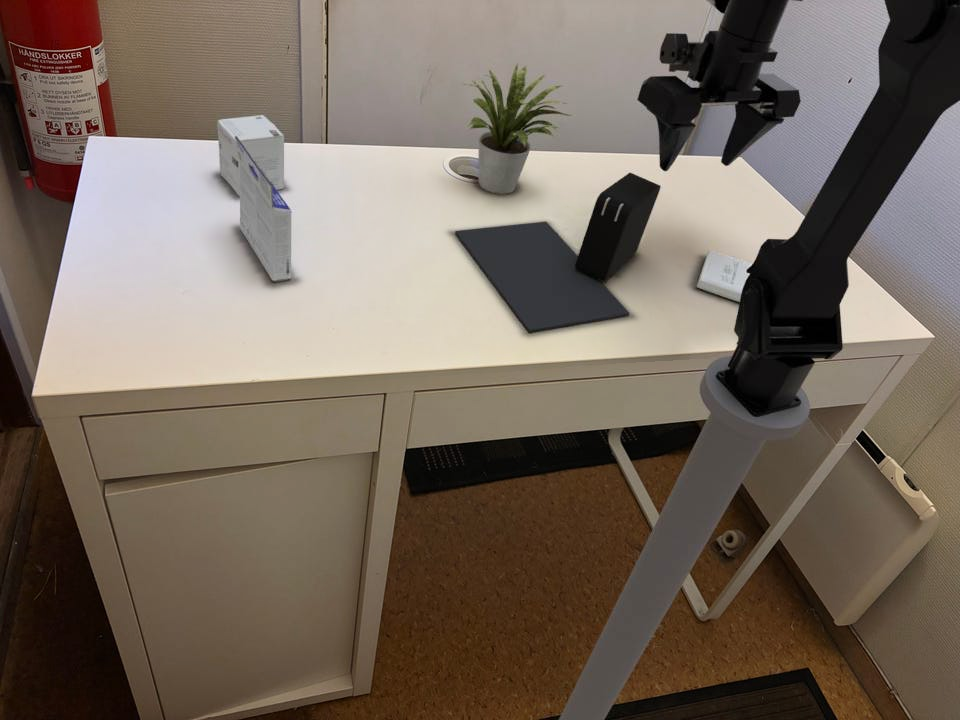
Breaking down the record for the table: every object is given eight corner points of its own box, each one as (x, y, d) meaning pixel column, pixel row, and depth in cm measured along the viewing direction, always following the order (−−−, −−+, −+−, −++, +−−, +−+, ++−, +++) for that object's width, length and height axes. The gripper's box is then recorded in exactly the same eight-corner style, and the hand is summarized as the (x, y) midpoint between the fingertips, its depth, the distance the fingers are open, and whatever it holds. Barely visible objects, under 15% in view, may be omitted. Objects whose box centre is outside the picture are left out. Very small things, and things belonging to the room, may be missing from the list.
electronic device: (635, 255, 96) (663, 183, 90) (603, 284, 88) (630, 209, 82) (606, 241, 97) (631, 170, 91) (572, 269, 90) (597, 194, 84)
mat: (628, 315, 85) (629, 313, 85) (528, 333, 80) (529, 330, 80) (545, 224, 98) (546, 221, 98) (454, 233, 93) (455, 230, 93)
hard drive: (797, 324, 89) (695, 288, 92) (800, 290, 95) (705, 258, 98) (802, 313, 88) (700, 277, 91) (806, 279, 94) (709, 247, 97)
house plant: (483, 223, 96) (506, 98, 85) (421, 174, 103) (435, 53, 93) (563, 201, 104) (593, 84, 93) (500, 157, 111) (521, 44, 101)
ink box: (294, 280, 80) (294, 182, 73) (272, 284, 79) (270, 185, 72) (259, 225, 87) (255, 131, 80) (239, 228, 86) (233, 133, 79)
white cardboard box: (219, 175, 95) (215, 119, 90) (265, 167, 98) (263, 113, 93) (239, 197, 91) (236, 140, 87) (286, 189, 95) (285, 133, 90)
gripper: (763, 5, 87) (714, 130, 98) (632, 1, 80) (593, 138, 90) (831, 43, 80) (770, 174, 91) (694, 43, 73) (644, 186, 83)
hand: (694, 166), depth 89 cm, fingers open, 9 cm apart
